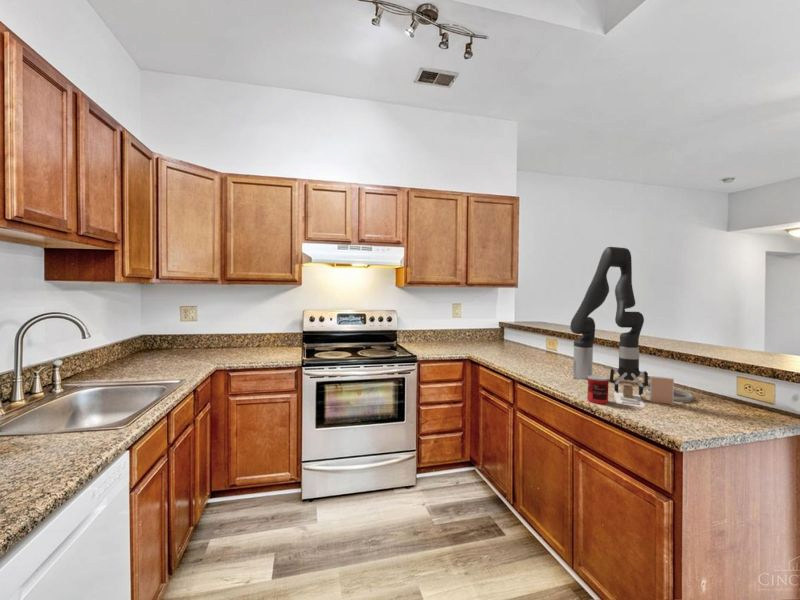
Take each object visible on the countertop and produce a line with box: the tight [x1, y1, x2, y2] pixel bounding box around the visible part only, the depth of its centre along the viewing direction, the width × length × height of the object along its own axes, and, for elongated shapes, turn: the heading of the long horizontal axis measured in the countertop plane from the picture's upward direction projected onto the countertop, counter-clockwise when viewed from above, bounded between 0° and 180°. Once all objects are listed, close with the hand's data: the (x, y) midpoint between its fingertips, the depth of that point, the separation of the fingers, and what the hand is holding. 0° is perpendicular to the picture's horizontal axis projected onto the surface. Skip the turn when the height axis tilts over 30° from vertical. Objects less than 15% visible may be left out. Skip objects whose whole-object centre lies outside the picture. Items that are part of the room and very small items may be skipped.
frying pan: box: [637, 383, 694, 403], centre depth 168 cm, size 17×3×28 cm
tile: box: [649, 375, 675, 405], centre depth 154 cm, size 8×2×11 cm, turn 63°
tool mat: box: [613, 391, 646, 408], centre depth 158 cm, size 10×19×1 cm, turn 153°
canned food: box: [587, 374, 609, 405], centre depth 155 cm, size 8×8×11 cm
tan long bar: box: [620, 382, 639, 405], centre depth 158 cm, size 15×6×5 cm, turn 153°
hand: (628, 393), depth 160 cm, fingers open, 8 cm apart
